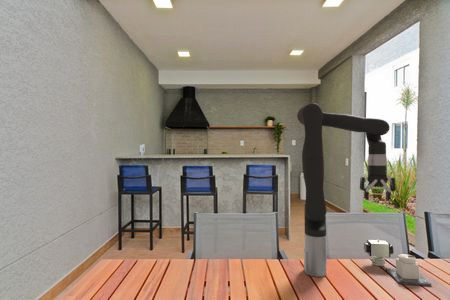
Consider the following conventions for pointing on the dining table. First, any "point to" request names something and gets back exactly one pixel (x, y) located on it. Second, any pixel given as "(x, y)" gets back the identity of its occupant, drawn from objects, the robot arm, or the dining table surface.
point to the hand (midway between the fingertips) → (377, 200)
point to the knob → (407, 266)
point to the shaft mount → (401, 280)
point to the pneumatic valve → (378, 251)
